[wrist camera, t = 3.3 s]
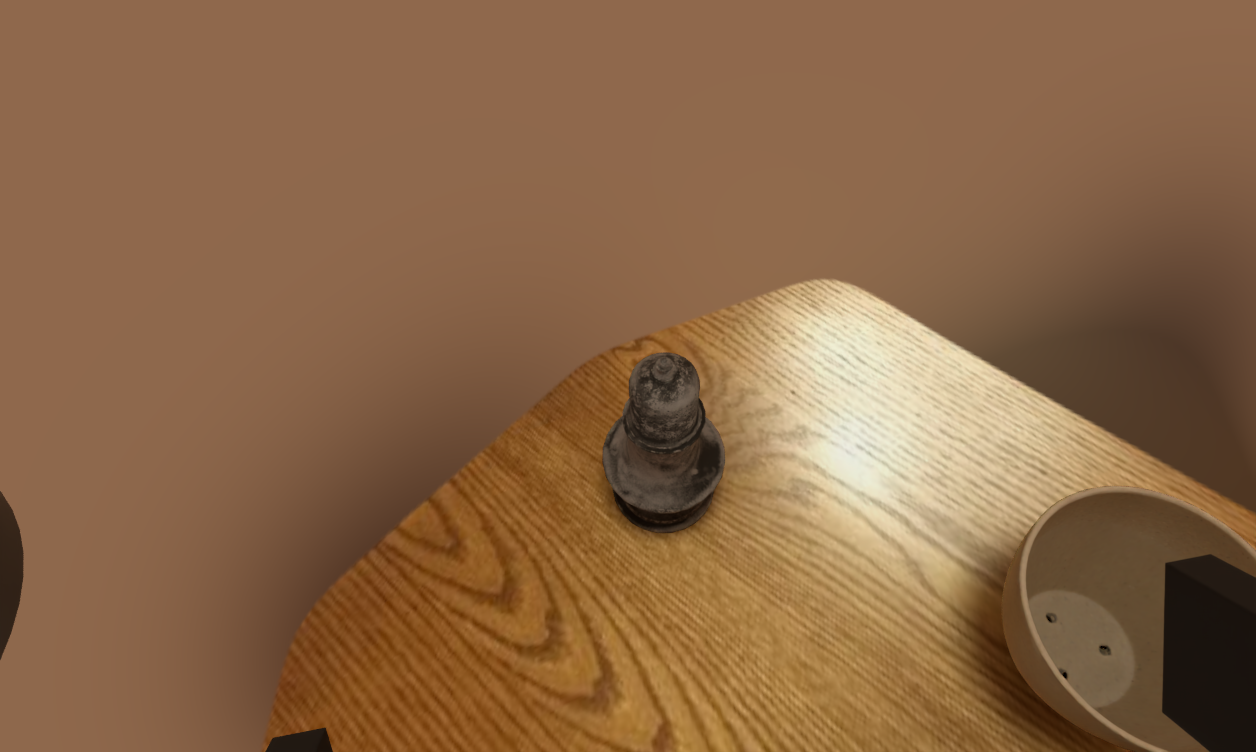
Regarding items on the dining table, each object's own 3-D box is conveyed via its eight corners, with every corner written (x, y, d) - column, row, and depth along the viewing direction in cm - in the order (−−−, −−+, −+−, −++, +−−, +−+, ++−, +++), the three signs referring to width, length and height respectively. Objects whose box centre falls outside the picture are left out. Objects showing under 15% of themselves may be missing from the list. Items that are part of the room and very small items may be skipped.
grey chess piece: (590, 456, 39) (566, 325, 29) (691, 418, 40) (702, 279, 30) (631, 556, 36) (620, 450, 26) (739, 513, 37) (770, 394, 27)
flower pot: (933, 711, 32) (998, 685, 26) (977, 512, 36) (1041, 450, 30) (1183, 822, 29) (1321, 822, 23) (1196, 593, 34) (1314, 544, 28)
